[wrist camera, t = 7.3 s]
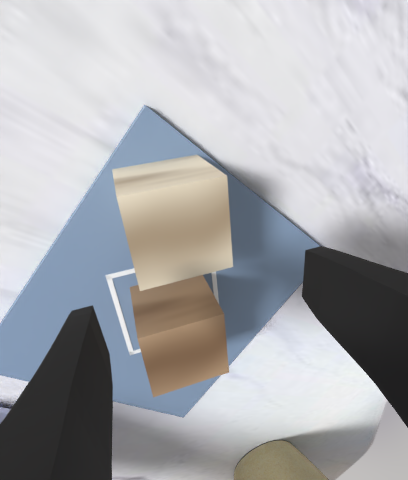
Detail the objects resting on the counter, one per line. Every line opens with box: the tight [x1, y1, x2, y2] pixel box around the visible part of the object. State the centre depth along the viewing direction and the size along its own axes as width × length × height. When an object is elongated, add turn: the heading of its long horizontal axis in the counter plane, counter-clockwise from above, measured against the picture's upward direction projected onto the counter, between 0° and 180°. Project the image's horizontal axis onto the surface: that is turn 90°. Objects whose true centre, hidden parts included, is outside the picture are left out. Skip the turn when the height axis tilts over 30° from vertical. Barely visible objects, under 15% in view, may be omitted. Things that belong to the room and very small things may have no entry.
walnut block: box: [130, 275, 229, 397], centre depth 18 cm, size 4×4×4 cm
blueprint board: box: [0, 105, 320, 417], centre depth 21 cm, size 18×16×1 cm
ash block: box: [112, 155, 233, 291], centre depth 15 cm, size 4×4×4 cm
